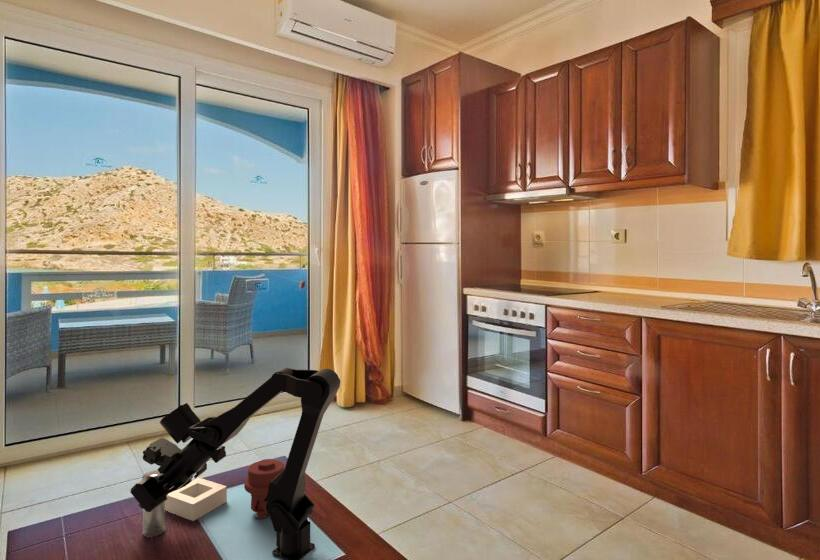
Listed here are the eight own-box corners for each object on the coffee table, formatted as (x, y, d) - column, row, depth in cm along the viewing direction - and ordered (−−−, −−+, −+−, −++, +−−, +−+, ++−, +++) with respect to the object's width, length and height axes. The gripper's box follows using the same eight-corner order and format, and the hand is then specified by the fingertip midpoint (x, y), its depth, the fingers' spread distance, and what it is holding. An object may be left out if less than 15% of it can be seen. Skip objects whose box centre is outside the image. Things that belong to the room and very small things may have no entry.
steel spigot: (170, 529, 109) (169, 472, 109) (151, 539, 105) (150, 481, 104) (156, 523, 111) (156, 468, 111) (137, 534, 107) (137, 476, 106)
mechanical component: (294, 504, 121) (275, 525, 111) (257, 499, 123) (235, 520, 113) (294, 456, 121) (275, 473, 111) (257, 452, 123) (236, 468, 113)
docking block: (226, 501, 122) (226, 486, 121) (193, 521, 113) (193, 504, 112) (198, 492, 126) (198, 477, 126) (164, 510, 117) (164, 494, 117)
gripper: (195, 415, 115) (154, 457, 118) (138, 446, 97) (91, 493, 100) (225, 451, 114) (183, 491, 117) (173, 488, 96) (125, 535, 99)
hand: (148, 501), depth 108 cm, fingers closed on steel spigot, 4 cm apart
